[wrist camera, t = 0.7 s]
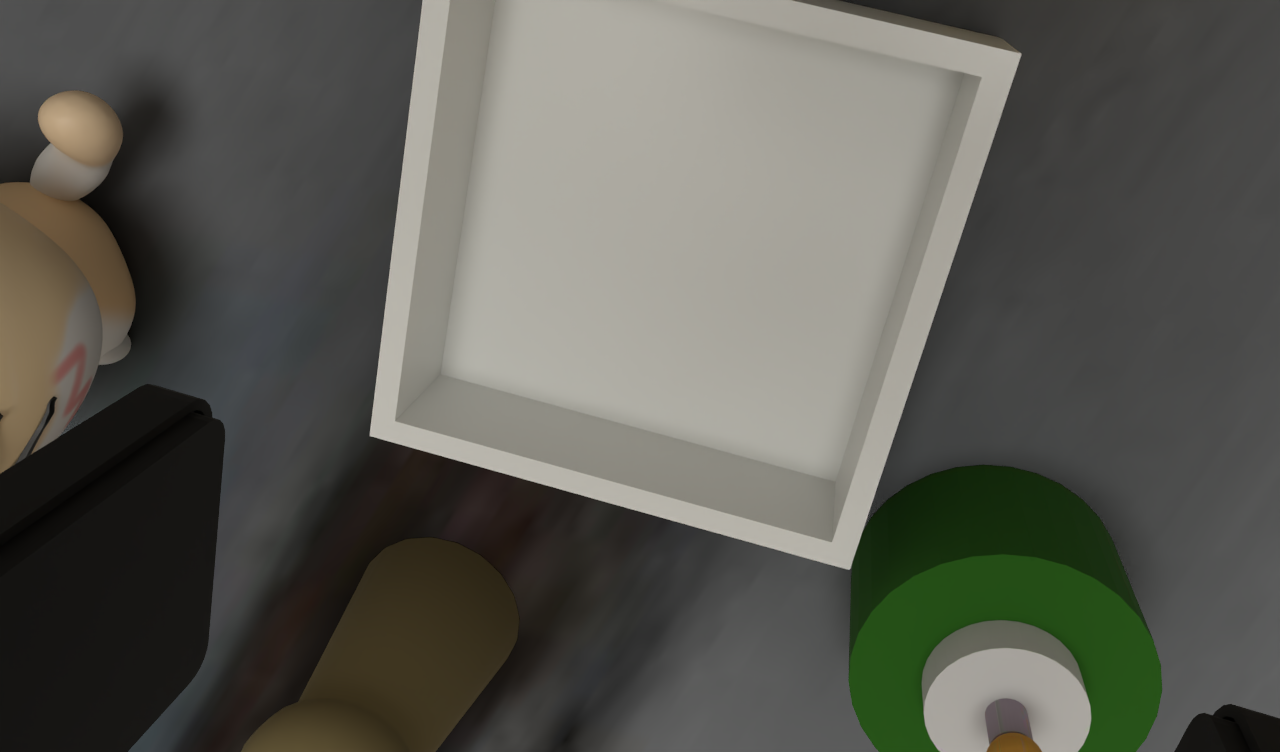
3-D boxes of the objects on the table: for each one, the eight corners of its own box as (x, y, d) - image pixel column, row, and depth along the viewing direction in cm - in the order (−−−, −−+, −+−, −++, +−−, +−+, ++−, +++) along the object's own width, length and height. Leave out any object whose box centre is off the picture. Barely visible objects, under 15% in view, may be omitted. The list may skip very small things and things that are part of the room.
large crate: (489, -81, 31) (433, -84, 27) (1000, 37, 30) (1021, 53, 26) (424, 380, 37) (369, 435, 33) (851, 497, 36) (849, 570, 32)
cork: (331, 616, 41) (159, 835, 31) (410, 505, 39) (250, 704, 29) (465, 709, 42) (337, 955, 32) (551, 605, 39) (442, 835, 29)
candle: (1172, 614, 35) (1280, 854, 26) (945, 726, 38) (971, 976, 29) (1023, 415, 34) (1081, 594, 25) (800, 548, 37) (778, 751, 28)
